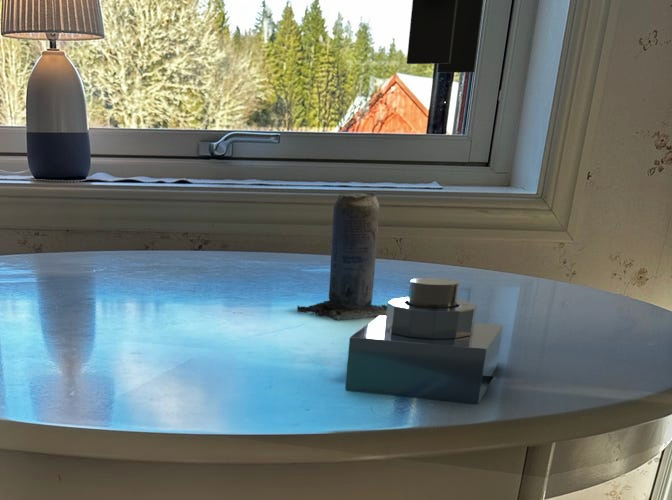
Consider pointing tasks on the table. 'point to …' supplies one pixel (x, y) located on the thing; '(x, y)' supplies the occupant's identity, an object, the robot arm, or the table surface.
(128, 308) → the table surface
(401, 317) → the grey stepped square block
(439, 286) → the cylinder
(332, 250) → the beverage can
